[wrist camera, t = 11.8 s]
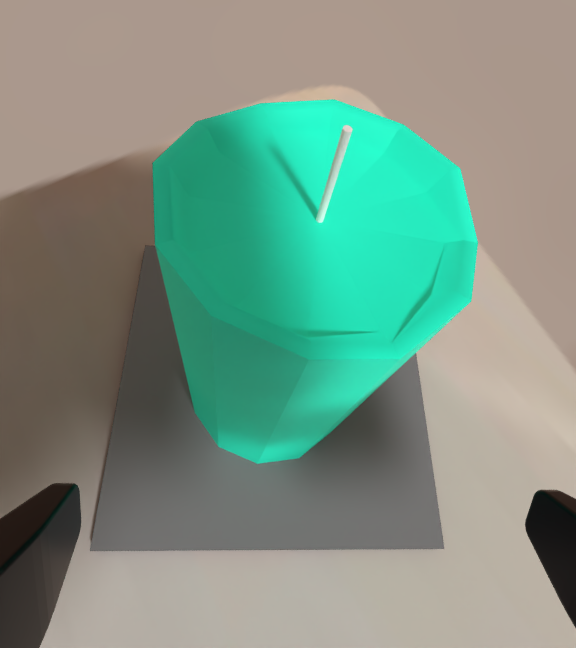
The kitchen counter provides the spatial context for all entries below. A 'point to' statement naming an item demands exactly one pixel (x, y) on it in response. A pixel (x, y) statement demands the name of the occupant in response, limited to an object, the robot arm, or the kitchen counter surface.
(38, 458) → the kitchen counter surface
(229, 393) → the candle
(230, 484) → the mat
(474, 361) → the kitchen counter surface
